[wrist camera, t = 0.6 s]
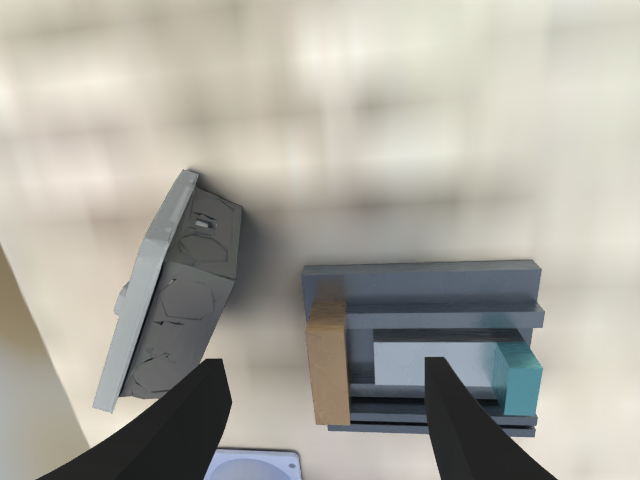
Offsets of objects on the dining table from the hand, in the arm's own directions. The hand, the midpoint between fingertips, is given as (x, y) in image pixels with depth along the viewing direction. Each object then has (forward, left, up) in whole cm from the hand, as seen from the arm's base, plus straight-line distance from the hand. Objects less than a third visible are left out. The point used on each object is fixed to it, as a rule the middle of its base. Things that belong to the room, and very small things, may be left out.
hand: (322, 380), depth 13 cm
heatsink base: (-5, -4, -10) cm, 12 cm away
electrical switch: (+1, +8, -10) cm, 13 cm away
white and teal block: (-5, -6, -9) cm, 12 cm away
